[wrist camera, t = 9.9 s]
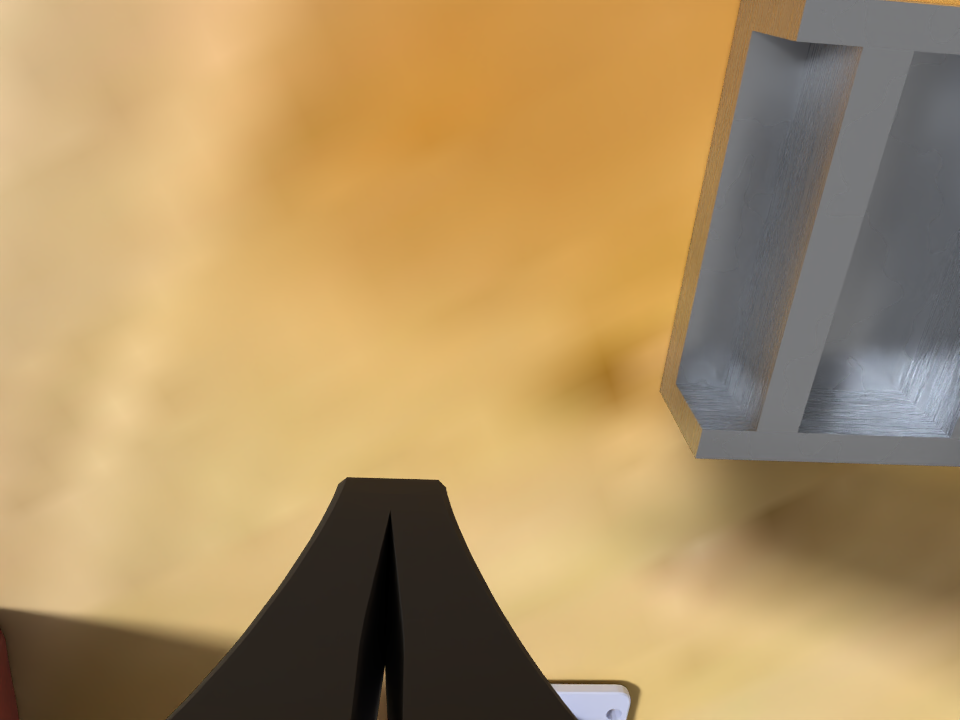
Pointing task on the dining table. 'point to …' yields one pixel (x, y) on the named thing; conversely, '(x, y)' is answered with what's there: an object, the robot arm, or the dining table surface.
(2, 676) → the plant pot
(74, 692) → the dining table surface
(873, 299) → the rack
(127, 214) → the dining table surface
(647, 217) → the dining table surface
